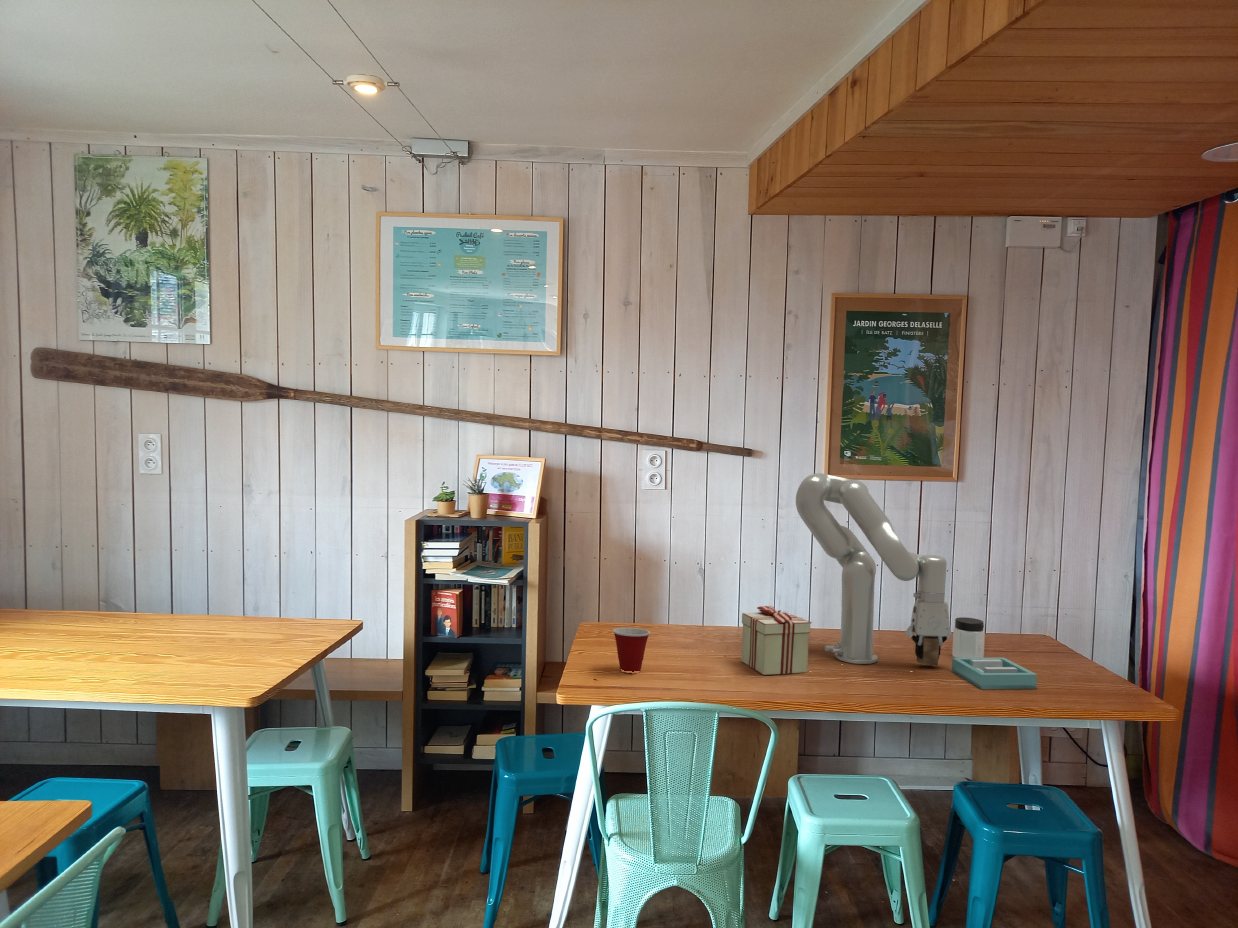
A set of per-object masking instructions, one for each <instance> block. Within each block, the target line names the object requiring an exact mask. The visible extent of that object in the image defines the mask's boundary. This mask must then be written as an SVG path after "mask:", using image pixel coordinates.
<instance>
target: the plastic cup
mask: <svg viewBox="0 0 1238 928" xmlns="http://www.w3.org/2000/svg"><path fill="white" fill-rule="evenodd" d="M612 632H613V635H614V638H615V643H616V650H617V658H618V664H619V669H622V670H624V671H632V672H634V671H640V672H641V670H642V666H643V665H642V664H643V660H644V655H645V651H646V645H647V642H648V639H649V636H650V634H651V631H649V630H647V629H643V628H638V627H637V628H636V627H617V628H613V629H612Z"/></svg>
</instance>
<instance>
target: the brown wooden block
mask: <svg viewBox="0 0 1238 928" xmlns="http://www.w3.org/2000/svg"><path fill="white" fill-rule="evenodd" d="M922 645H923V658H922V659H920V658H919V657H917V656H916V660H915V661H916V662H917V663H919V664H921V665H923V666H939V659H938V656H939V657H940V655H939V638H937V637H935V636H924V638H923V642H922Z"/></svg>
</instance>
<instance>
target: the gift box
mask: <svg viewBox="0 0 1238 928" xmlns="http://www.w3.org/2000/svg"><path fill="white" fill-rule="evenodd" d="M756 609H758V612H742V613H741V614H742V615H741V624H742V639H741V658H740V659H741V662H742V663H743V664H744V665H747V666H748V667H749V668H752V669H753V670H754V671H756V672H759V673H760V674H761V675H763V676H768V675H769V676H770V675H783V674H784V675H786V674H801V673H808V663H809V662H808V661H809V660H808V658H809V640H810V639H809V635H810V633H811V624H812V621H809V620H807V619H804V618H803V617H799V616H796V615H794V614H791V613H789V612H787V611H782V610H776V608H775V607H774V606H772V605H763V606H757V607H756Z"/></svg>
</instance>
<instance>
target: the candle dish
mask: <svg viewBox="0 0 1238 928" xmlns="http://www.w3.org/2000/svg"><path fill="white" fill-rule="evenodd" d="M951 672H952V673H954V674H955V675H957V676H959V677H960V678H962V679H963V680H965V681H967V682H968V683H970V684H972V685H974V686H975V687H977V688H978V689H980V690H1036V689H1037V687H1038V685H1037V684H1038V683H1037V682H1038V681H1037V679H1038V674H1037V673H1036V672H1033V671H1031V670H1029V669H1027V668H1025V667H1023V666H1021V665H1020V664H1017V663H1016V662H1013V661H1012V660H1010V659H1007V658H1006V657H984V658H955V657H951Z"/></svg>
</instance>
